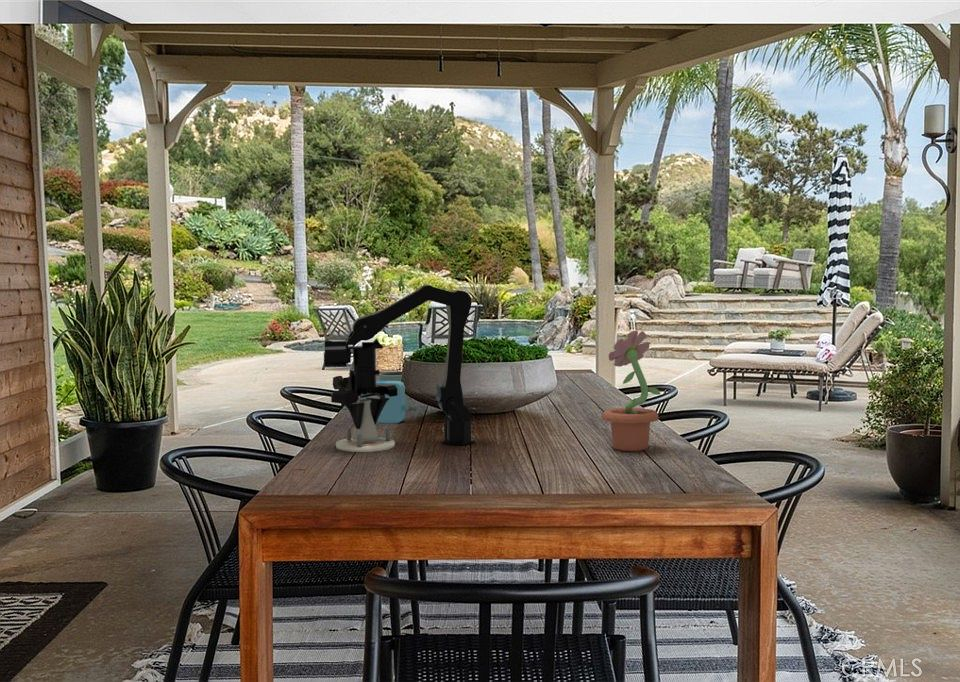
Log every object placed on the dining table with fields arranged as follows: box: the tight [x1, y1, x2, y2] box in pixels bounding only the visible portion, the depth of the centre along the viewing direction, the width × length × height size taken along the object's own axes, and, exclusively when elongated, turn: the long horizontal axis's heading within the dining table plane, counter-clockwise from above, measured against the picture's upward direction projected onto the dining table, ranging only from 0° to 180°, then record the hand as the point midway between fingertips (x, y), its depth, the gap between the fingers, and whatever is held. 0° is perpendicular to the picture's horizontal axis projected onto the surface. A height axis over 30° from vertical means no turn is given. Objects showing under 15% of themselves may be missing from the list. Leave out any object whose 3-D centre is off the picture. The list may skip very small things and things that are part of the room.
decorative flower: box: [602, 330, 661, 452], centre depth 228 cm, size 15×14×30 cm
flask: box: [351, 398, 381, 440], centre depth 233 cm, size 7×7×10 cm
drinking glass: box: [378, 370, 411, 412], centre depth 291 cm, size 10×10×12 cm
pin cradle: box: [335, 427, 396, 453], centre depth 233 cm, size 15×15×4 cm
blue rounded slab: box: [361, 380, 406, 424], centre depth 270 cm, size 12×4×12 cm, turn 79°
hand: (365, 427), depth 233 cm, fingers closed on flask, 5 cm apart
